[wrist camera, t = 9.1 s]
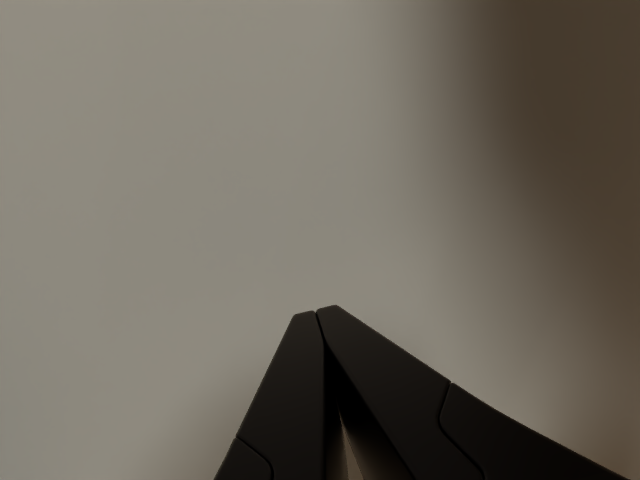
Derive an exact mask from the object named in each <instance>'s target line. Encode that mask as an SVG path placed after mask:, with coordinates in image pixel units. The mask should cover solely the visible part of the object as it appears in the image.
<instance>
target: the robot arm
mask: <svg viewBox="0 0 640 480" xmlns="http://www.w3.org/2000/svg"><path fill="white" fill-rule="evenodd" d="M339 413H340V414H339ZM340 417H341V419H340ZM341 420H342V424H343V427H344V429H345V432H346V435H347V438H348V440H349V443H350V445H351V448H352V450H353V453H354V455H355V458H356V460H357V463H358V465H359V468H360V471H361V473H362V476H363V478H364V480H630V479H628V478H625V477H623V476H621V475H619V474H617V473H615V472H613V471H611V470H609V469H607V468H605V467H603V466H601V465H599V464H597V463H595V462H593V461H592V460H590V459H588V458H586V457H584V456H582V455H580V454H578V453H576V452H574V451H572V450H570V449H569V448H567V447H565V446H563V445H561V444H559V443H557V442H555V441H553V440H551V439H549V438H547V437H545V436H544V435H542V434H540V433H538V432H536V431H534V430H532V429H530V428H528V427H526V426H525V425H523V424H521V423H519V422H517V421H516V420H514V419H512V418H510V417H508V416H506V415H505V414H503V413H501V412H499V411H497V410H496V409H494V408H492V407H491V406H489V405H488V404H486V403H484V402H483V401H481V400H480V399H478V398H476V397H475V396H473V395H472V394H470V393H468V392H467V391H465V390H464V389H462V388H461V387H459V386H458V385H456V384H455V383H451V381H450V380H449V379H447V378H446V377H444V376H443V375H441V374H440V373H438V372H437V371H435V370H434V369H432V368H431V367H429V366H428V365H426V364H425V363H423V362H422V361H420V360H419V359H417V358H416V357H414V356H413V355H411V354H410V353H408V352H407V351H405V350H404V349H402V348H401V347H399V346H398V345H396V344H395V343H393V342H392V341H390V340H389V339H387V338H386V337H384V336H383V335H381V334H380V333H378V332H377V331H375V330H374V329H372V328H371V327H369V326H368V325H366V324H365V323H363V322H362V321H360V320H359V319H357V318H356V317H354V316H353V315H351V314H350V313H348V312H347V311H345V310H344V309H342V308H341V307H339V306H337V305H332V306H328V307H324V308H320V309H318V310H317V311H316V313H315V312H314V311H307V312H303V313H299V314H295V315H294V316H293V317H292V319H291V321H290V323H289V326H288V328H287V330H286V332H285V334H284V336H283V338H282V340H281V342H280V344H279V346H278V349H277V351H276V353H275V355H274V357H273V359H272V361H271V363H270V365H269V367H268V369H267V371H266V374H265V376H264V378H263V380H262V382H261V384H260V386H259V388H258V390H257V392H256V394H255V397H254V399H253V401H252V403H251V405H250V407H249V409H248V411H247V413H246V415H245V417H244V419H243V422H242V424H241V426H240V428H239V430H238V432H237V434H236V438H235V439H234V440H233V442H232V444H231V446H230V448H229V450H228V452H227V455H226V457H225V459H224V460H223V462H222V464H221V466H220V468H219V470H218V472H217V474H216V476H215V478H214V480H349V478H348V470H347V461H346V453H345V444H344V436H343V429H342V424H341Z"/></svg>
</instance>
